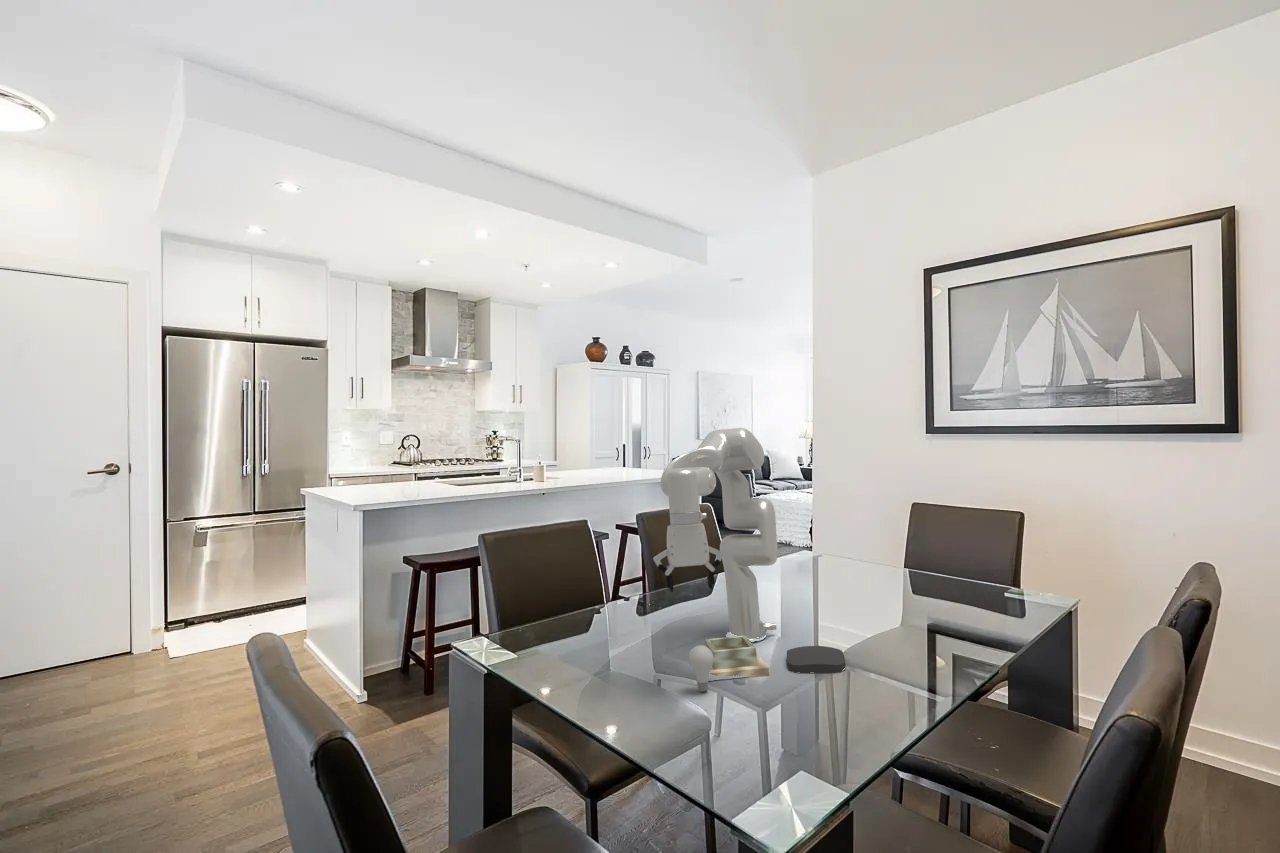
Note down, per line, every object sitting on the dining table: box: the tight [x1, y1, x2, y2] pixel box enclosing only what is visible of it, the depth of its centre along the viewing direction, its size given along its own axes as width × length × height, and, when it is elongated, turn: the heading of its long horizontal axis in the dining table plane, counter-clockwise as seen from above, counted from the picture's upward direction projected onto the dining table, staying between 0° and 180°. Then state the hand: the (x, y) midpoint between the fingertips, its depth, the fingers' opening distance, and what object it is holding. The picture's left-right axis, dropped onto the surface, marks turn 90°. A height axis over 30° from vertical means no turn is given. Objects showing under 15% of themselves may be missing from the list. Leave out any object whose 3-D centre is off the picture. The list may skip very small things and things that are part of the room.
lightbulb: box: [687, 644, 714, 693], centre depth 151 cm, size 6×6×11 cm
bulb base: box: [704, 635, 770, 678], centre depth 166 cm, size 16×16×6 cm
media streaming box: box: [786, 645, 847, 674], centre depth 164 cm, size 15×15×3 cm
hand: (690, 589), depth 152 cm, fingers open, 9 cm apart
